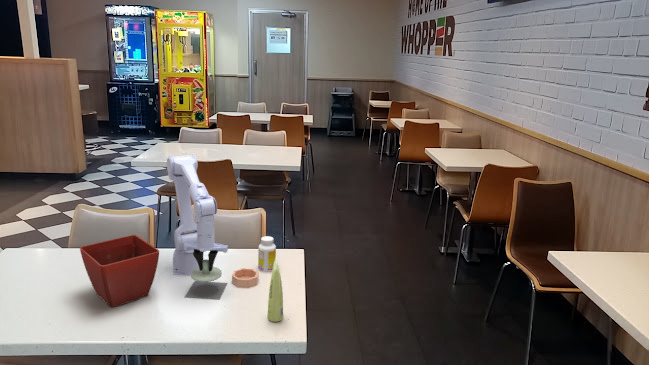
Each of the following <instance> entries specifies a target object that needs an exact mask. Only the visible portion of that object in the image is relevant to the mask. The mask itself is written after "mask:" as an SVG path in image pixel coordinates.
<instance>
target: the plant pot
mask: <svg viewBox="0 0 649 365" xmlns="http://www.w3.org/2000/svg"><path fill="white" fill-rule="evenodd" d="M79 252H80V255H81V258H82V262H83V264H84V268H85V271H86V274H87V276H88V278H89V281H90V283H91V286H92V287H93V289H94V290H93V291H94V292H95V293H96V295H97V296H99V297H100V299H102V301H103V302H104V303H105V304H106V305H107V306H108V307H110V308H114V307H117V306H121V305H123V304H127V303H131V302H134V301H136V300H137V301H138V300H139V299H142V298H144V297H147V296H148V295H149V294H150V292H151V288H152V285H153V283H154V280H155V277H156V272H157V269H158V263H159V256H160V250H159V249H158V248H156V247H154V246H153V245H152V244H151V243H148V241H146V240H145V239H143V238H141V237H140V236H138V235H137V234H131V235H127V236H123V237H118V238H114V239H108V240H105V241H100V242H95V243H92V244H87V245H86V244H85V245H82V246H80V247H79Z"/></svg>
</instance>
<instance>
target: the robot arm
mask: <svg viewBox="0 0 649 365" xmlns="http://www.w3.org/2000/svg"><path fill="white" fill-rule="evenodd" d="M198 166H199V164H198V158H197V156H196V155H195V154H186V155H174V156H173V155H172V156H170V155H169V156H168V158H167V159H166V168H167V169H166V170H167V175H168V179H169V180H171V181H173V183H174V187H175V196H176V201H177V206H178V207H177V208H178V214H179V219H180V225H179V226H178V227H177V228H176V229H174V230H175V231H174V248H175V249H174V251H173V254H172V266H173V268H172V269H173V270H172V275H174V276H175V275H178V276H190V277H191V272H192V271H193V270H194V269H196V268H199V269H200V271H202V261H203V260H204V253H205V252H207V251H208V252H209V253H208V254H207V258H208V260H209V271H212V269H213V267H214V264H215V261H216V260H215V259H216V258H217V255H218V253H219V252H223V253H224V254H227V253H228V251H229V250H228V249H229V248H228V247H229V246H228V244H227V245H226V244H223V243H222V244H221V243H216V242H215V215H216V214H217V213H218V204H217V200H216V198H215V197H213V196H212V195H210V194H209V192H208V189H207V188H206V186H205V184H204V182H203V183H202V182H201V181H200V179H199V176H198V174H197V170H198ZM192 203H193V207H192ZM193 211H194V213H193ZM194 217H195V218H194ZM195 221H196V223H195Z"/></svg>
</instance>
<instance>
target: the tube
mask: <svg viewBox="0 0 649 365" xmlns="http://www.w3.org/2000/svg"><path fill="white" fill-rule="evenodd" d="M281 276H282V275H281V272H280V267H279V264H278V259H277V256H276V257H275V261H274V265H273V270H272V271H271V276H270V283H269V290H268V300H267V319H268V320H269V321H271V322H272V323H274V322H275V323H276V322H280V321H282V320H283V318H284V296H283V295H284V293H283V286H282V285H283V284H282V277H281Z"/></svg>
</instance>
